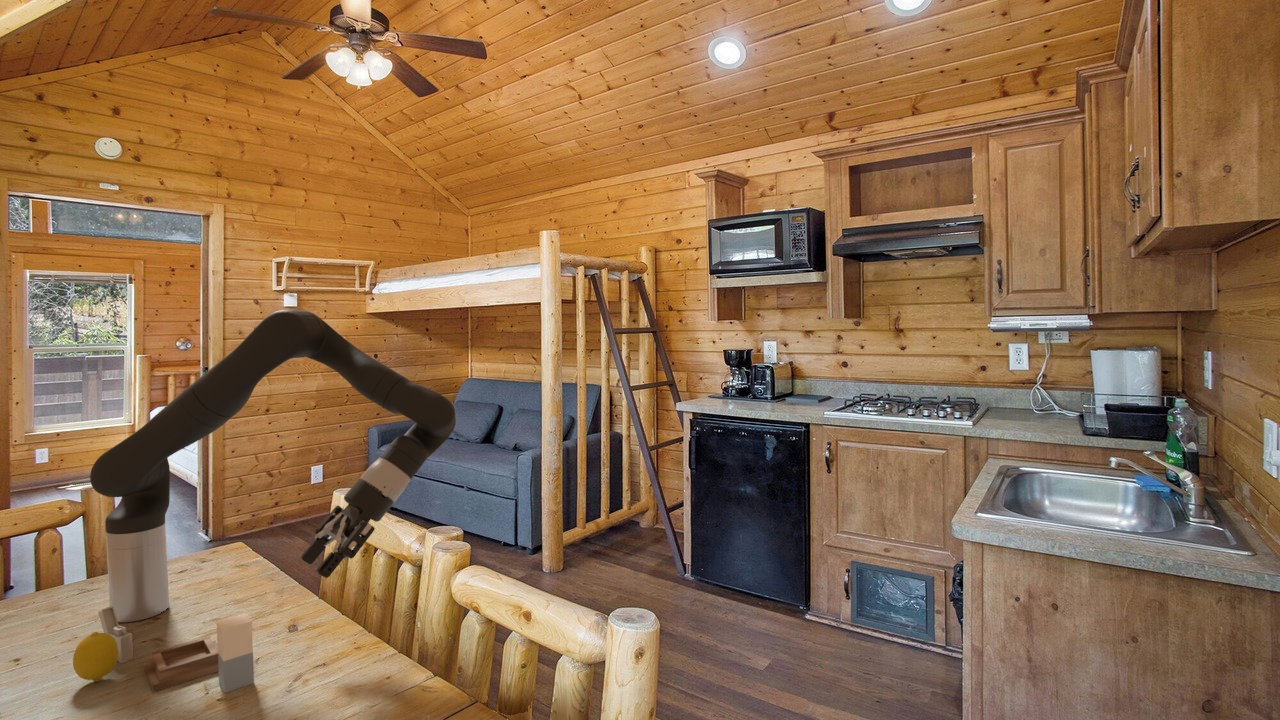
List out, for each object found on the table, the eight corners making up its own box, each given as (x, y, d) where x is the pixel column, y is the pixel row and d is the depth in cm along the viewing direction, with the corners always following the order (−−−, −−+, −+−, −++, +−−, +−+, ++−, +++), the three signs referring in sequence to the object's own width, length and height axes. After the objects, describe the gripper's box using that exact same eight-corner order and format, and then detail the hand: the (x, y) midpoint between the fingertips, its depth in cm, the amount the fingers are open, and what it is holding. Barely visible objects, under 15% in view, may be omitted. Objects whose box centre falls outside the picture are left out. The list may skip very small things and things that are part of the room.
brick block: (219, 682, 102) (216, 621, 101) (247, 673, 105) (245, 613, 104) (224, 692, 99) (221, 629, 99) (254, 682, 102) (251, 621, 101)
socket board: (144, 667, 107) (143, 652, 107) (215, 646, 114) (215, 632, 113) (152, 691, 99) (152, 676, 99) (228, 667, 106) (227, 653, 106)
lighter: (133, 658, 110) (131, 612, 109) (121, 663, 108) (119, 616, 108) (112, 648, 113) (109, 604, 112) (100, 653, 111) (97, 608, 111)
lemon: (93, 692, 99) (90, 642, 99) (65, 688, 100) (62, 639, 100) (128, 673, 105) (126, 625, 104) (101, 670, 106) (98, 622, 105)
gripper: (348, 470, 120) (283, 546, 112) (378, 483, 109) (308, 568, 102) (378, 493, 123) (316, 568, 116) (409, 508, 113) (344, 591, 106)
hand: (313, 568), depth 109 cm, fingers open, 8 cm apart
